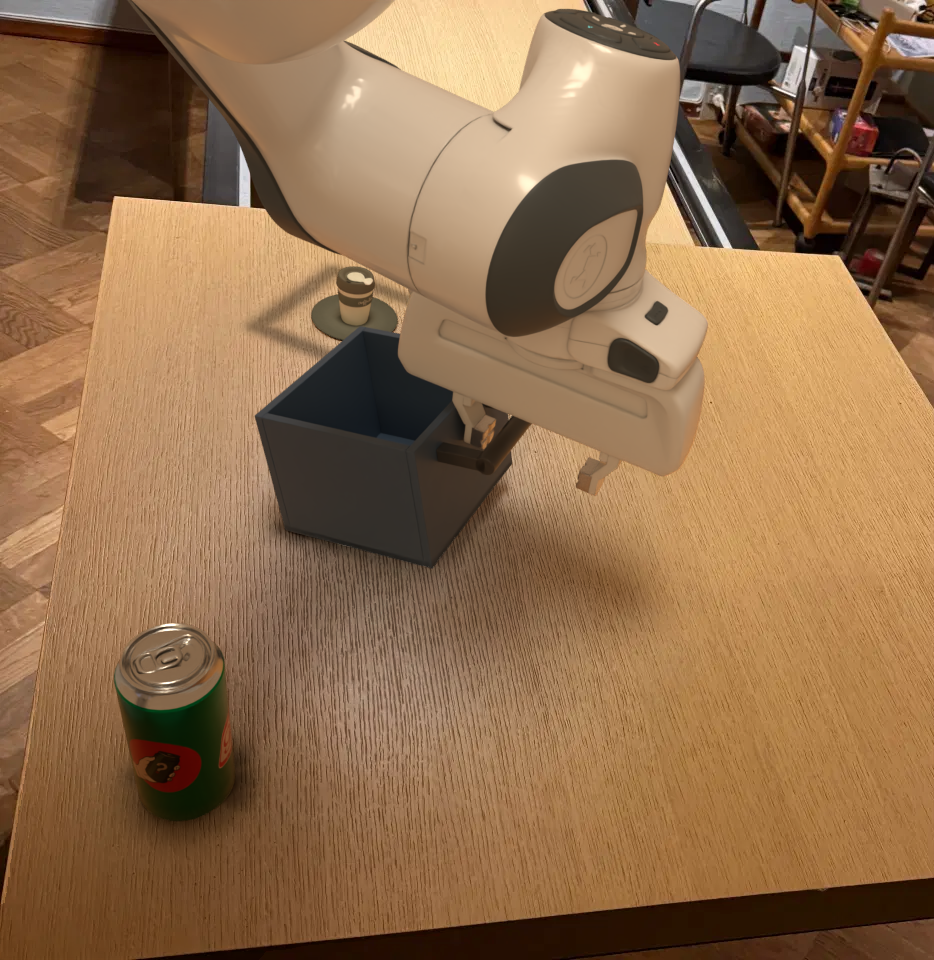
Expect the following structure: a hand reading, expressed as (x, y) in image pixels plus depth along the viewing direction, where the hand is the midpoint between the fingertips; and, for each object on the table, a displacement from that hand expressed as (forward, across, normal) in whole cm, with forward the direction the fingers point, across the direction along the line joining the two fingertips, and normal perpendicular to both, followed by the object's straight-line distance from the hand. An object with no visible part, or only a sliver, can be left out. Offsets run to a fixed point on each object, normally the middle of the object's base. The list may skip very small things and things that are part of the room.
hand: (532, 463), depth 70 cm
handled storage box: (+8, -7, 0) cm, 11 cm away
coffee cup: (+10, -26, +19) cm, 33 cm away
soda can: (+9, -8, -26) cm, 29 cm away
